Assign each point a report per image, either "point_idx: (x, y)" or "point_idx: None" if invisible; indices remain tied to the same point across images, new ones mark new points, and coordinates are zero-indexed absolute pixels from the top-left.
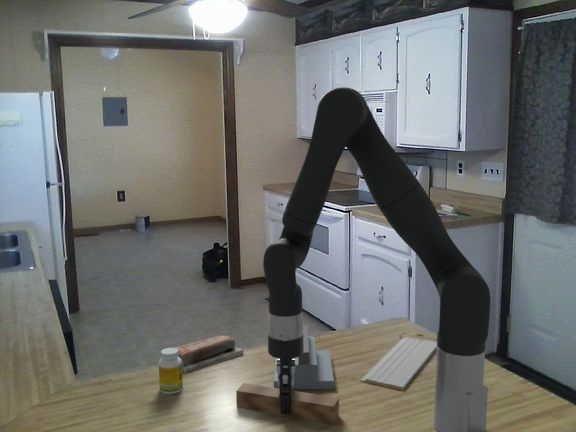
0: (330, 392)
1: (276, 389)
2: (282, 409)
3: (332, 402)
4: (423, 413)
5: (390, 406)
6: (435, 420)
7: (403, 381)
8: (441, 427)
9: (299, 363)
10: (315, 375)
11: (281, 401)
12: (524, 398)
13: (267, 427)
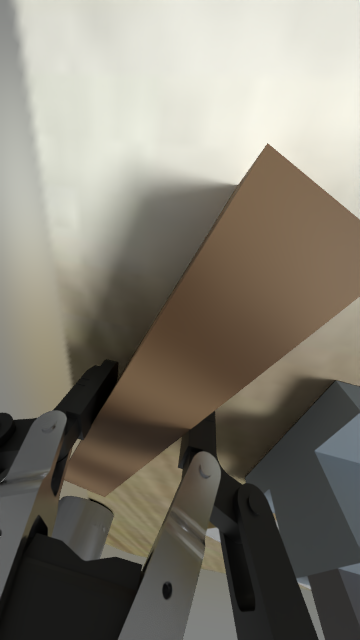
0: (231, 468)
1: (189, 414)
2: (83, 375)
3: (79, 482)
4: (124, 505)
5: (148, 495)
6: (76, 513)
7: (216, 537)
8: (64, 507)
9: (338, 581)
10: (277, 512)
11: (78, 397)
12: (148, 550)
13: (59, 298)
